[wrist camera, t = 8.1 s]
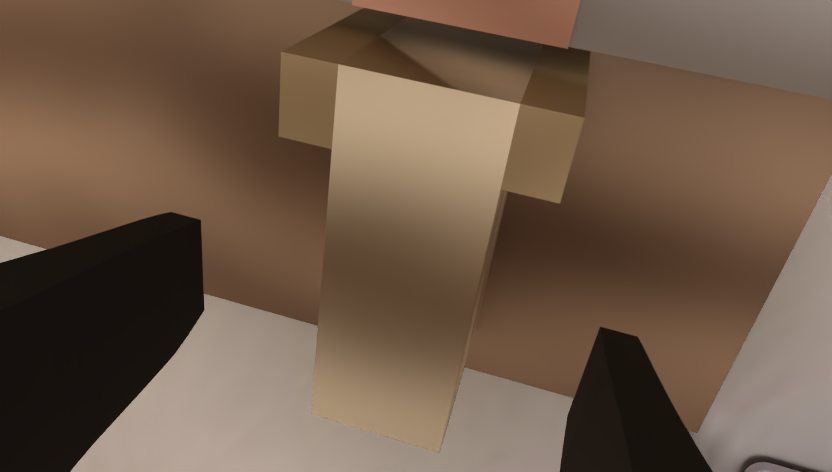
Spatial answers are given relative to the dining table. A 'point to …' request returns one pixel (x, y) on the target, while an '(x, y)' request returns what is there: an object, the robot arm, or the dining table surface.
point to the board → (523, 215)
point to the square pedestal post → (419, 197)
